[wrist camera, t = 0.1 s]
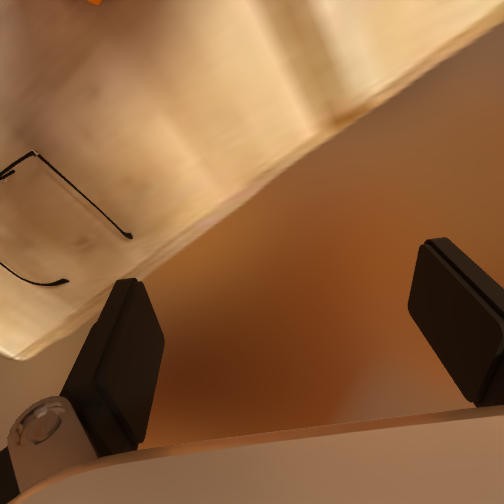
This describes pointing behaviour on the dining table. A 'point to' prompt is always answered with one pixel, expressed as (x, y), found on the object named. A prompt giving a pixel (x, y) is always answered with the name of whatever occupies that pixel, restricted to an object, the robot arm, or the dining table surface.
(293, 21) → the dining table surface
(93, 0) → the bracket
